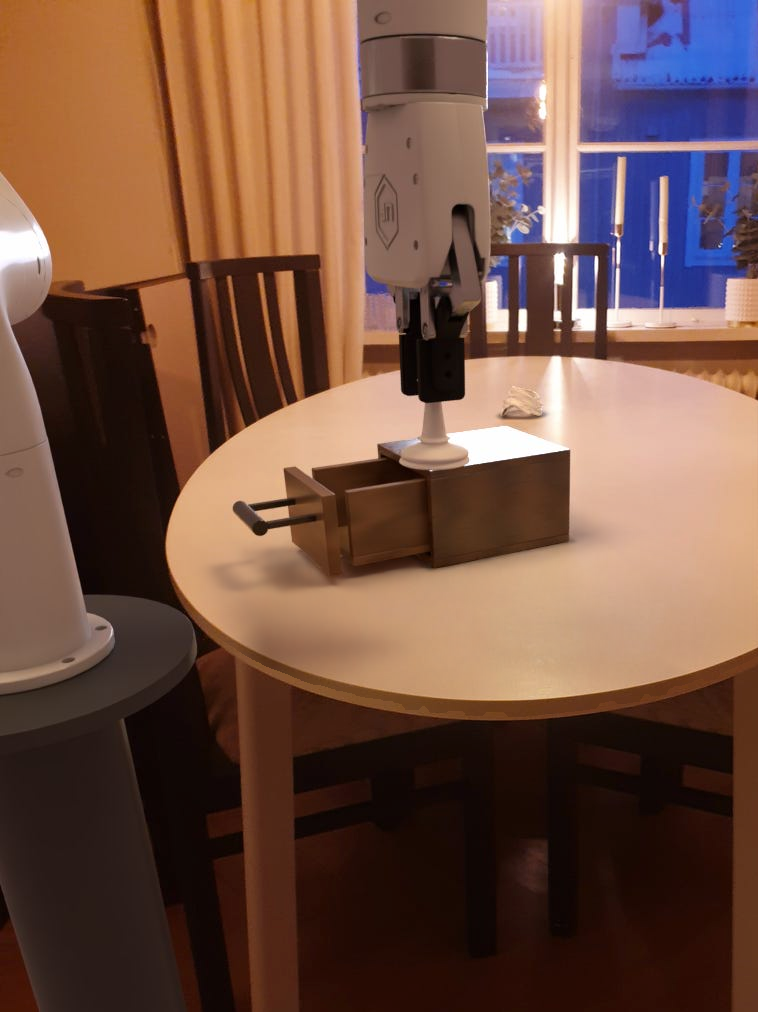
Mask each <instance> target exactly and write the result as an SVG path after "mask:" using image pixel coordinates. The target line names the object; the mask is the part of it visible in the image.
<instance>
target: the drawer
mask: <svg viewBox="0 0 758 1012" xmlns="http://www.w3.org/2000/svg"><path fill="white" fill-rule="evenodd" d="M311 476H312V477H311ZM311 476H310V475H308V474H307V473H305V472H304V471H303V470H301V469H299V468H298V467H297V466H289V467H288V466H287V467H284V468H283V477H284V483H285V484H284V485H285V494H286V498H280V499H279V498H278V499H274V500H267V501H261V502H254V503H247V502H246V501H243V500H238V501H237V500H236V502H234V503H233V505H232V512H233V514H235V516H236V517H238V519H239V520H240V521H241V522H242V523H243V524H244V525H245V527H248V529H249V530H250V531H251V532H252V533H253V534H254V535H255V536H257V537H263V536H265V535H266V534H267V533H268V531H269V530H273V529H280V528H284V527H289V528H290V536H291V542H292V543H293V544H294V545H295V546H296V547H297V548H299V549H300V550H301V551H302V552H303V553H304V554H305V555H306V556H307V557H308V558H309V559H311V561H313V562H314V563H315V564H316V565H317V566H318V568H319V569H321V570H322V571H323V572H324V573H325V574H326V575H328V577H329V578H332V577H336V576H341V575H344V573H343V564H342V563H343V562H342V558H344V560H346V561H347V562H348V563H350V564H351V565H352V566H353V567H357V566H361V565H362V566H363V565H368V564H373V563H378V562H381V561H386V560H387V561H388V560H393V559H398V558H403V557H408V556H409V557H410V556H413V555H416V554H419V553H424V552H429V551H430V532H429V513H428V494H427V478H426V477H424V476H422V475H420V474H419V473H417V472H415V471H413V470H411V469H409V468H407V467H405V466H403V465H401V464H400V463H398V462H396V461H394V460H392V459H391V458H389V457H384V458H378V457H377V458H371V459H365V460H358V461H350V462H344V463H343V462H342V463H337V464H330V465H323V466H316V467H312V468H311ZM284 507H287V509H288V510H287V511H288V517H285V518H277V519H272V520H266V521H265V519H264V518H262V517H261V516H260V515H259V514H258V513H257V512H259V511H265V510H272V509H278V508H284Z"/></svg>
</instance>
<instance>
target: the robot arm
mask: <svg viewBox="0 0 758 1012" xmlns="http://www.w3.org/2000/svg"><path fill="white" fill-rule="evenodd" d="M356 9H357V22H358V23H357V27H358V28H357V29H358V30H357V31H358V44H359V62H360V63H359V65H360V83H361V86H360V87H361V99H362V100H361V102H362V111H363V112H366V113H367V118H366V130H365V143H364V157H363V158H364V162H363V163H364V164H363V229H364V230H363V233H364V234H363V236H364V238H363V239H364V240H363V241H364V267H365V272H366V273H367V275H368V276H369V278H371V280H373V281H374V282H376V283H379V284H383V285H385V287H386V290H387V292H388V293H389V295H390V296H391V297H392V300H393V301H392V302H393V303H394V304H395V326H396V330H397V332H398V347H399V348H398V350H399V374H400V375H399V376H400V391H401V394H403V395H405V396H406V397H414V396H415V397H418V400H419V402H421V403H424V404H425V403H434V402H442V403H443V402H452V401H453V402H454V401H461V400H463V399H464V398H465V396H466V359H465V358H466V356H465V354H466V353H465V350H466V349H465V348H466V347H465V342H466V341H465V338H467V336H468V330H469V329H468V328H469V326H468V325H469V324H468V319H469V318H468V317H469V314H470V312H471V311H472V310H473V309H474V308H475V307H477V306H478V305H479V304H480V303H481V301H482V288H481V283H482V282H483V281H484V280H485V279H486V278H487V276H488V274H489V271H490V263H491V261H490V259H491V244H492V243H491V239H492V237H491V234H492V233H491V229H492V228H491V227H492V226H491V225H492V224H491V223H492V222H491V195H490V192H491V191H490V176H489V160H488V146H487V136H486V127H485V120H484V113H485V112H486V111H488V107H489V106H488V0H356ZM52 279H53V261H52V254H51V250H50V246H49V244H48V241H47V238H46V236H45V234H44V232H43V229H42V227H41V226H40V224H39V222H38V220H37V219H36V218H35V216H34V214H33V213H32V211H31V210H30V208H29V207H28V206H27V205H26V203H25V201H24V200H23V199H22V197H21V196H20V195H19V194H18V192H17V191H16V189H14V187H13V186H12V185H11V183H10V182H9V181H8V179H7V178H6V177H5V176H4V174H3V173H2V172H1V171H0V695H7V694H14V693H21V692H26V691H30V690H35V689H39V688H43V687H46V686H50V685H53V684H56V683H59V682H62V681H64V680H67V679H70V678H72V677H75V676H77V675H79V674H81V673H83V672H85V671H87V670H89V669H90V668H92V667H94V666H95V665H97V664H98V663H100V662H101V661H102V660H103V659H104V658H105V657H107V656H108V655H109V653H110V652H111V650H112V649H113V648H114V644H115V637H114V632H113V628H112V626H111V624H110V623H109V622H108V621H107V620H105V619H104V618H102V617H99V616H97V615H94V614H90V613H87V612H86V608H85V603H84V599H83V595H84V594H83V590H82V586H81V581H80V577H79V572H78V568H77V563H76V559H75V555H74V550H73V546H72V541H71V537H70V533H69V532H70V531H69V527H68V523H67V519H66V518H67V517H66V514H65V509H64V505H63V501H62V496H61V491H60V487H59V482H58V478H57V474H56V470H55V464H54V460H53V456H52V455H53V454H52V451H51V447H50V441H49V438H48V435H47V431H46V427H45V422H44V418H43V414H42V409H41V405H40V401H39V398H38V395H37V390H36V388H35V385H34V382H33V379H32V376H31V374H30V370H29V368H28V366H27V363H26V361H25V358H24V356H23V353H22V350H21V348H20V345H19V344H18V341H17V339H16V336H15V333H14V331H13V328H12V326H14V325H17V324H19V323H21V322H22V321H24V320H26V319H28V318H30V317H31V316H32V315H34V314H35V313H36V312H37V310H38V309H39V308H40V307H41V306H42V305H43V303H45V302H44V301H45V300H46V298H47V297H48V294H49V291H50V289H51V284H52ZM440 283H444V284H445V283H446V284H447V285H440ZM417 379H418V381H417Z"/></svg>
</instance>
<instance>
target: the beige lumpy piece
mask: <svg viewBox="0 0 758 1012" xmlns="http://www.w3.org/2000/svg"><path fill="white" fill-rule="evenodd" d="M507 395H508V397H507V399H506V398H505V399H504V400H503V404H502V410H501V411H500V416H501V417H503V416H507V415H508V414H509V412H510V411H511V410H512V409H513V408H515V409H516V410H519V411H520V412H522V413H523V414H525V415H526V416H530V415H535V416H537V417H540V416H542V415H543V409H542V407H543V405H544V403H543V401H542V400H541V396H540V395H539V394H538V393H537V392H536V391H534V390H532V389H528V388H524V387H522V386H514V385H513V386H511V388H510V389H509V391H508V392H507Z"/></svg>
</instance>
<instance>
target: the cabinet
mask: <svg viewBox="0 0 758 1012" xmlns="http://www.w3.org/2000/svg"><path fill="white" fill-rule="evenodd" d="M446 434H447V435H448V436H450V437H451V439H450V440H448V441H449V442H451V443H455V444H458V445H461V446H463V447H465V448H467V449H468V451H469V455H468V457H469V458H470V462H469V463H468V464H466V465H464V466H462V467H458V468H453V469H445V470H420V469H413V468H409V469H411V470H413V471H415V472H417V473H419V474H420V475H422V476H424V477H426V478H427V494H428V513H429V532H430V551H429V552H424V553H419V554H415V555H416V556H417V557H418V558H420V559H422V561H424V562H425V563H427V564H428V565H430V566H431V567H433V568H434V569H436V568H443V567H447V566H452V565H457V564H462V563H467V562H472V561H476V560H482V559H486V558H491V557H497V556H501V555H506V554H511V553H516V552H521V551H526V550H531V549H536V548H540V547H541V548H542V547H545V546H551V545H556V544H560V543H565V542H569V541H570V510H571V509H570V507H571V504H570V503H571V494H570V493H571V449H570V448H568V447H564V446H562V445H559V444H556V443H553V442H551V441H548V440H545V439H542V438H539V437H537V436H535V435H532V434H529V433H526V432H523V431H520V430H519V429H515V428H512V427H510V426H507V425H504V426H498V427H497V426H496V427H489V428H482V429H477V430H476V429H474V430H467V431H461V432H454V433H446ZM419 442H420V441H419V440H418V439H417V438H410V439H403V440H396V441H389V442H381V443H377V446H376V447H377V458H384V457H389V458H391V459H392V460H394V461H396V462H398V463H400V462H399V460H400V458H401V456H400V452H401V450H402V449H404V448H405V447H407V446H410V445H412V444H415V443H419ZM407 468H408V467H407Z"/></svg>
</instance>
